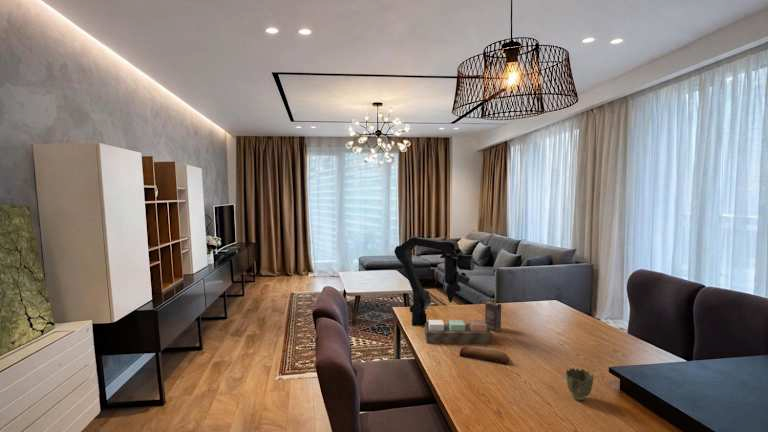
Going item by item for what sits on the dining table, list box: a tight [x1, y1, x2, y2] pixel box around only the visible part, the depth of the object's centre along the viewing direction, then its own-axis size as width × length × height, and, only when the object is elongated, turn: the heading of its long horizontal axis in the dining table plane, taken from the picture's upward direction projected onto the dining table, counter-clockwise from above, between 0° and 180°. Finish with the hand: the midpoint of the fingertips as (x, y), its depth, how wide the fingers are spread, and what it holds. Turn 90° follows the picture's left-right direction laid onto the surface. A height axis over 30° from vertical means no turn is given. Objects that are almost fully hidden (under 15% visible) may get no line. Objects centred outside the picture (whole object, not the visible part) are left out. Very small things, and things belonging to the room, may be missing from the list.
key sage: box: [448, 319, 466, 331], centre depth 159 cm, size 6×6×4 cm
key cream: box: [428, 319, 445, 331], centre depth 159 cm, size 6×6×4 cm
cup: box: [565, 367, 595, 402], centre depth 112 cm, size 8×7×8 cm
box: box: [484, 301, 502, 332], centre depth 170 cm, size 6×4×12 cm
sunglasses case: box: [459, 345, 510, 365], centre depth 141 cm, size 18×7×7 cm
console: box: [424, 322, 492, 345], centre depth 159 cm, size 27×11×4 cm, turn 88°
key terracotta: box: [469, 319, 487, 331], centre depth 158 cm, size 6×6×4 cm
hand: (450, 302), depth 168 cm, fingers closed
